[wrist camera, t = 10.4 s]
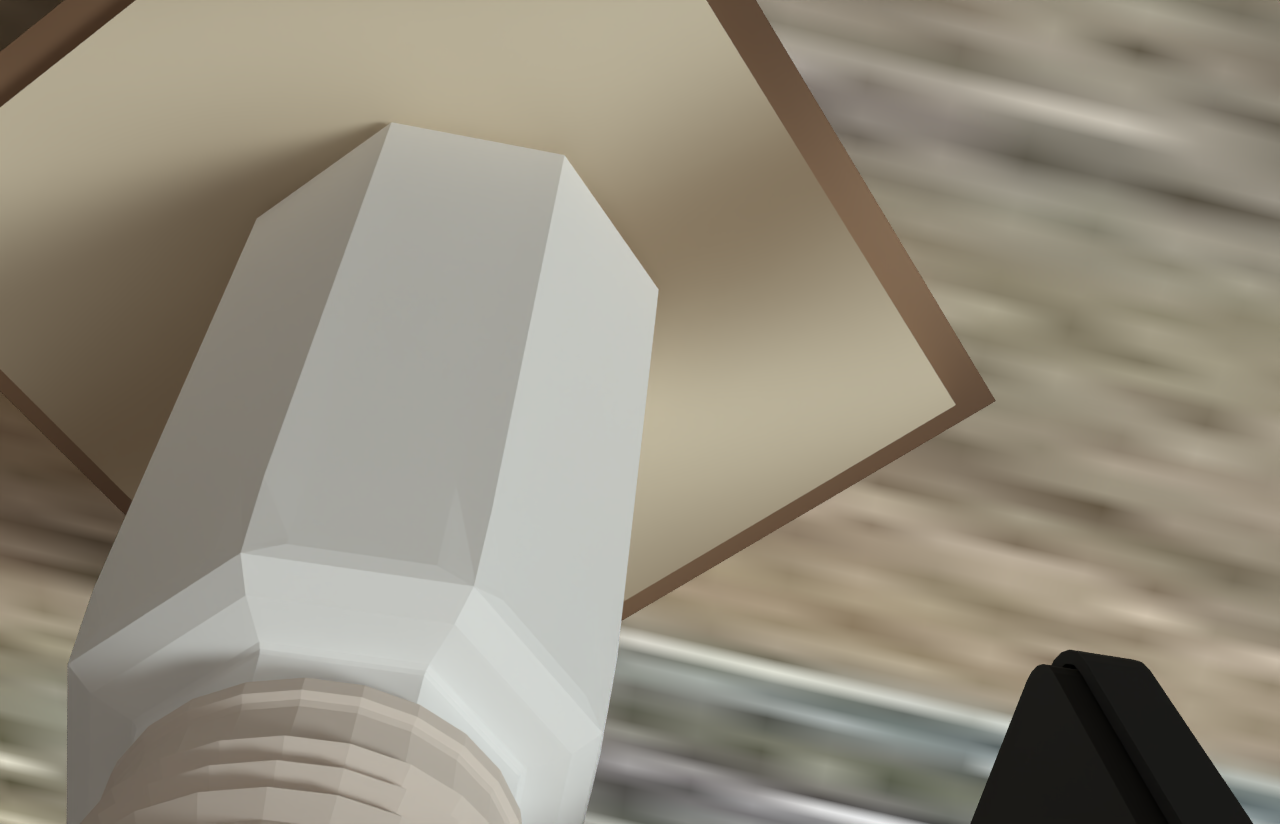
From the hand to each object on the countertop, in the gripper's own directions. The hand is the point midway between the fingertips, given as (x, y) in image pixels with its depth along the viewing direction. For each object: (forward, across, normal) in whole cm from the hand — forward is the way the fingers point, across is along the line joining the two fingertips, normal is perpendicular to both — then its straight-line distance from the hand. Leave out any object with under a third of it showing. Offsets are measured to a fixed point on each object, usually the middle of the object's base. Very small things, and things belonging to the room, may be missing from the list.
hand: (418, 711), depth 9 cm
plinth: (+12, +1, 0) cm, 12 cm away
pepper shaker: (+7, +1, 0) cm, 8 cm away
